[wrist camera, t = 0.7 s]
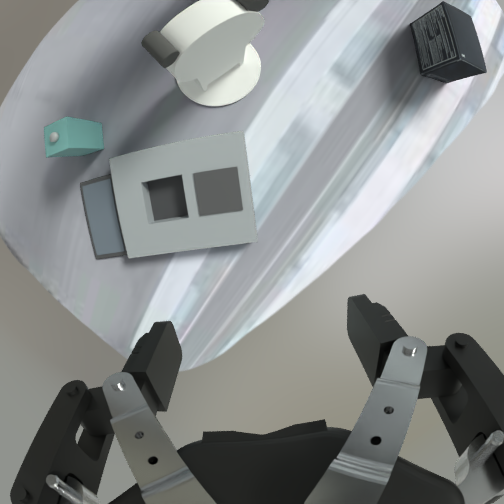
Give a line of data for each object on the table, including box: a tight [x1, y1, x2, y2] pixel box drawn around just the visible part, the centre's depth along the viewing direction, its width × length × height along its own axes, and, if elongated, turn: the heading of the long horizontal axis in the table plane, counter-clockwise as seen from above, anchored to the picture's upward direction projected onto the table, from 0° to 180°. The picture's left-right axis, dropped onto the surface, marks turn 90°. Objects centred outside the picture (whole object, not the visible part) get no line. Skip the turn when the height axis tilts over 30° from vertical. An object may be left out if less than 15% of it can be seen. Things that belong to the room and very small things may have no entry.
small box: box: [410, 1, 487, 83], centre depth 23 cm, size 11×6×10 cm, turn 2°
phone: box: [80, 174, 128, 259], centre depth 37 cm, size 6×12×1 cm, turn 7°
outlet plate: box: [109, 131, 258, 258], centre depth 35 cm, size 14×18×3 cm
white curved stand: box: [142, 0, 269, 106], centre depth 23 cm, size 12×11×15 cm
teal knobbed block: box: [44, 117, 104, 157], centre depth 28 cm, size 4×4×10 cm
